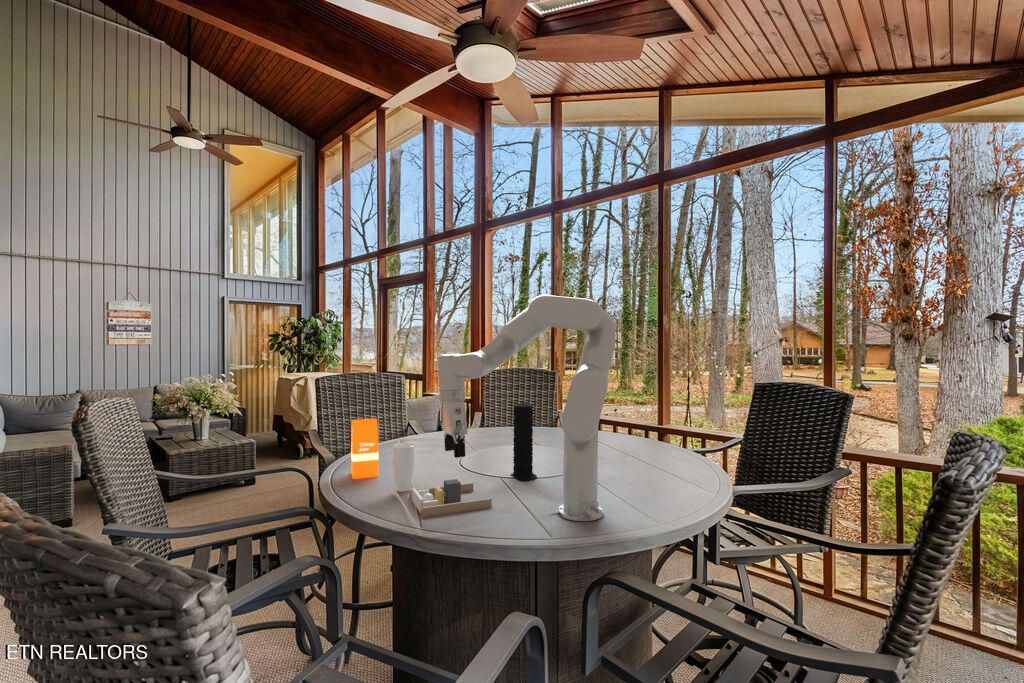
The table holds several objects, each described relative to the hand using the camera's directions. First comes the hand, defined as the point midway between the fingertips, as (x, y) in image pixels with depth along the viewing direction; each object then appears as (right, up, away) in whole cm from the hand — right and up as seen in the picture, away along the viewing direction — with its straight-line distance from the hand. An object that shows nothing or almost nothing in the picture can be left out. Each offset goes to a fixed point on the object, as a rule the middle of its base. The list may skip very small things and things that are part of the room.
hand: (454, 453), depth 149 cm
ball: (-8, -11, -3) cm, 14 cm away
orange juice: (-36, -15, +32) cm, 51 cm away
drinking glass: (-18, -15, +13) cm, 27 cm away
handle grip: (+21, -15, +29) cm, 39 cm away
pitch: (-2, -15, 0) cm, 15 cm away
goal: (-8, -15, -3) cm, 18 cm away
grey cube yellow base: (-2, -14, 0) cm, 15 cm away
